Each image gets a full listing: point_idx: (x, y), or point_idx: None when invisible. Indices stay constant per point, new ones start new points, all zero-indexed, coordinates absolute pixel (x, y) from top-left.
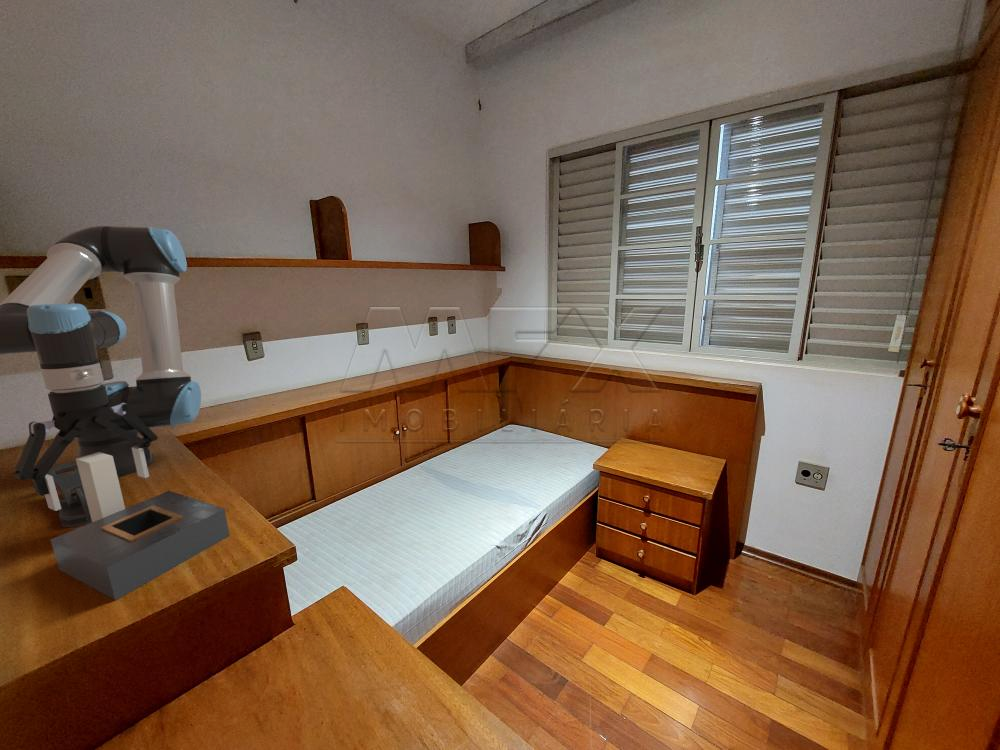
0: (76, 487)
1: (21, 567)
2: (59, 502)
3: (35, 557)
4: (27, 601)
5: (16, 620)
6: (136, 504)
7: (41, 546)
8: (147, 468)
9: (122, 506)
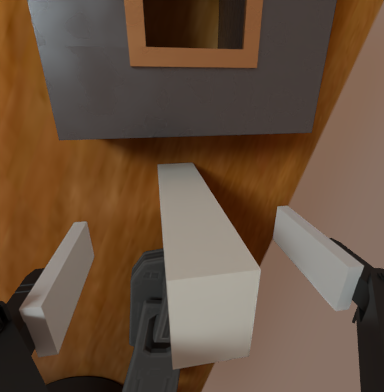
0: (163, 352)
1: (283, 189)
2: (287, 214)
3: (263, 203)
4: (334, 65)
5: (368, 17)
6: (149, 135)
7: (245, 231)
8: (63, 239)
9: (163, 181)
